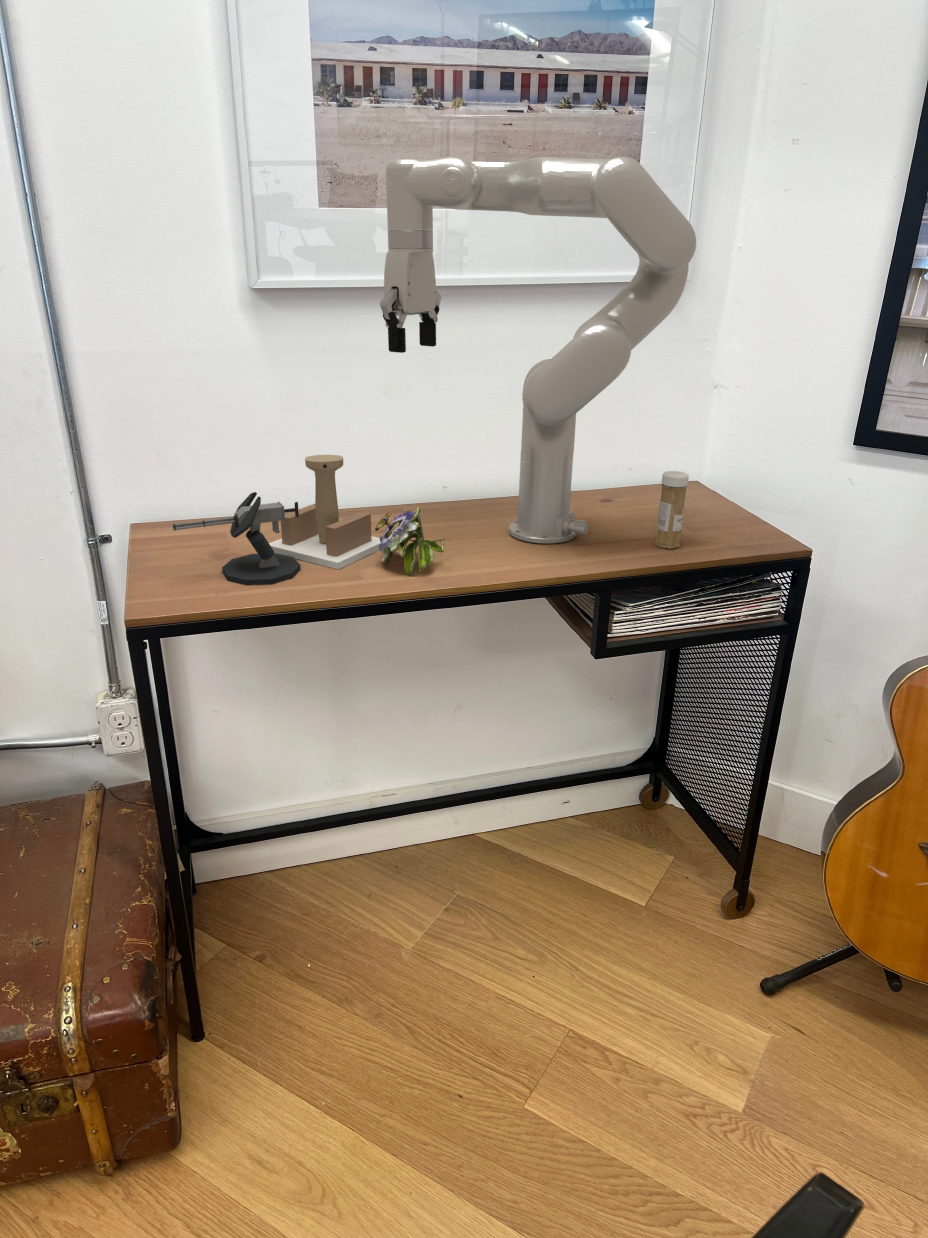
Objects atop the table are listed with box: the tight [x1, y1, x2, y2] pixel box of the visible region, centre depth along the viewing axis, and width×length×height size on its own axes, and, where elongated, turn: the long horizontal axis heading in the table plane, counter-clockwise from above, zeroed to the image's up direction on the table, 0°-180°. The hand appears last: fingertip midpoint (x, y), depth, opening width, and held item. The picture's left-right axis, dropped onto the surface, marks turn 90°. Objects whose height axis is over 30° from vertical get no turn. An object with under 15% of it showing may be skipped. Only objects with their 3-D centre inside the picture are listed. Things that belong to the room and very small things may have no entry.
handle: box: [304, 454, 344, 544], centre depth 151 cm, size 5×6×15 cm
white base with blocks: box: [268, 503, 381, 570], centre depth 153 cm, size 16×14×6 cm
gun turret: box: [172, 491, 302, 586], centre depth 140 cm, size 13×20×13 cm, turn 116°
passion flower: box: [374, 506, 446, 577], centre depth 147 cm, size 11×11×12 cm
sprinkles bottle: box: [654, 470, 690, 550], centre depth 157 cm, size 5×5×14 cm
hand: (412, 348), depth 153 cm, fingers open, 9 cm apart
